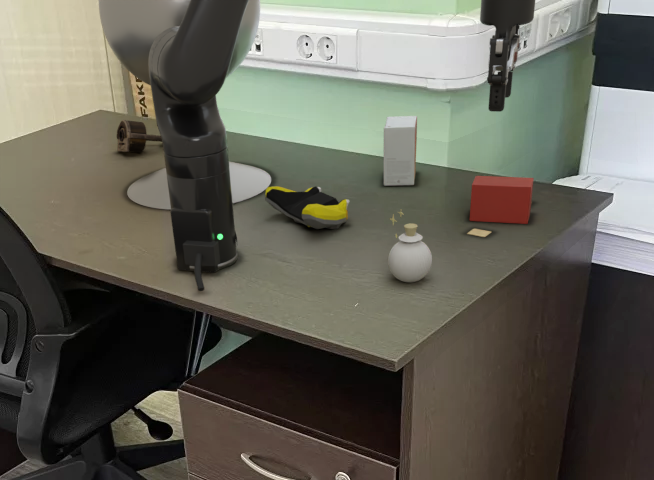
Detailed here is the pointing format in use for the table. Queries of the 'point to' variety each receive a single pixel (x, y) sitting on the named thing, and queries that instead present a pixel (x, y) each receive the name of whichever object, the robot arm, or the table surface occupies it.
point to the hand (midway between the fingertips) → (499, 103)
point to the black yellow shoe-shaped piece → (309, 206)
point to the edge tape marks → (479, 232)
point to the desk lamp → (133, 52)
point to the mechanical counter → (133, 136)
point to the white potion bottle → (409, 255)
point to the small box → (400, 150)
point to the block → (501, 199)
